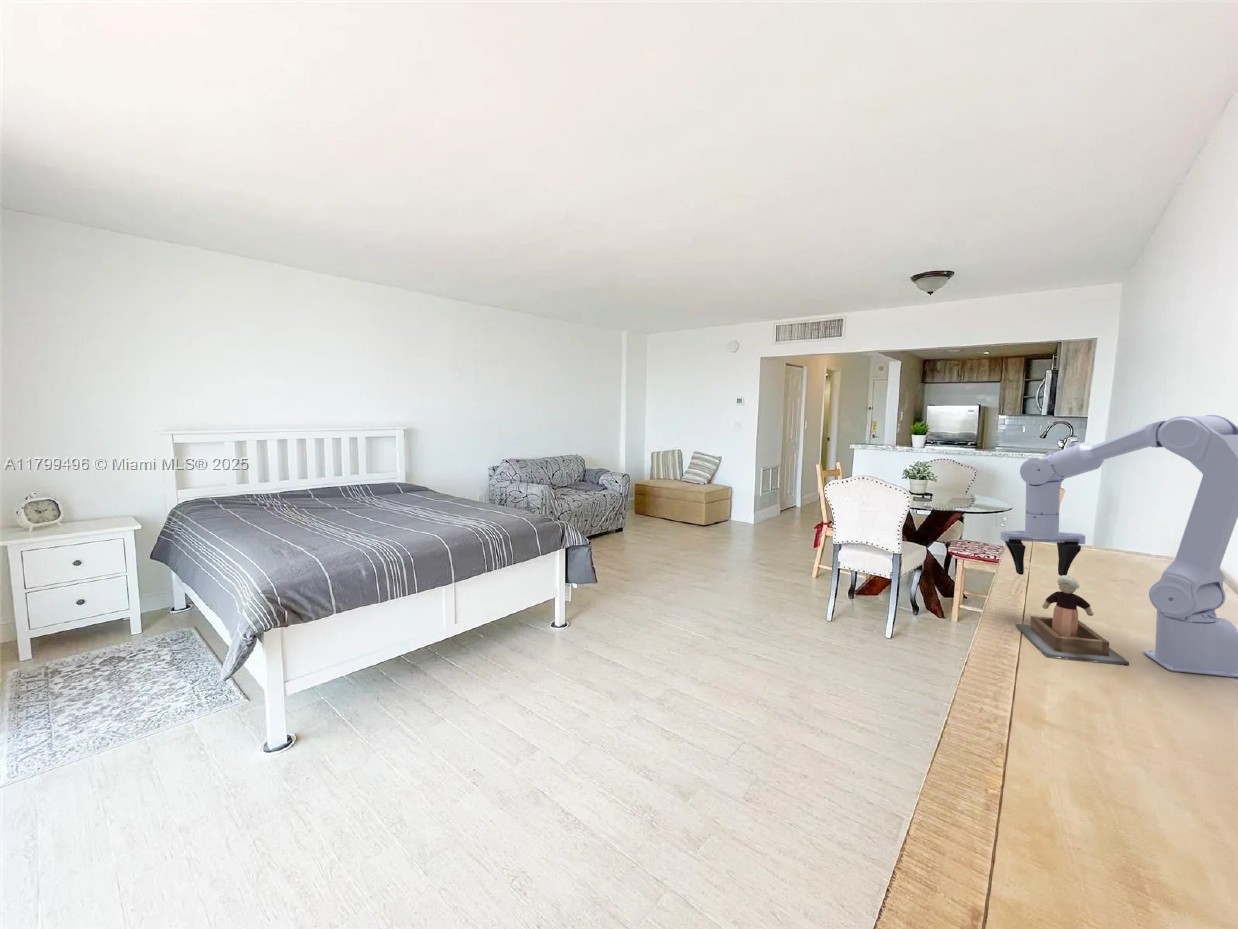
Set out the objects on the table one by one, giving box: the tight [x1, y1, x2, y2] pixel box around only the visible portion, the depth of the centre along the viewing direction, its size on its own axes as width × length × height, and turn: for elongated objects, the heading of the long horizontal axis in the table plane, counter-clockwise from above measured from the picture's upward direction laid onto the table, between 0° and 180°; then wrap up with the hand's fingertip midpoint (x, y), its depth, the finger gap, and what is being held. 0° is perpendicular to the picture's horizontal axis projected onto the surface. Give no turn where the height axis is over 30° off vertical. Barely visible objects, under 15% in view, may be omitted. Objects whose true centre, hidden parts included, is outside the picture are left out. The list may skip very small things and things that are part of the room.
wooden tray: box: [1014, 615, 1130, 666], centre depth 103 cm, size 12×16×3 cm
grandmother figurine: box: [1041, 574, 1095, 638], centre depth 104 cm, size 8×4×13 cm, turn 54°
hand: (1040, 574), depth 114 cm, fingers open, 7 cm apart
